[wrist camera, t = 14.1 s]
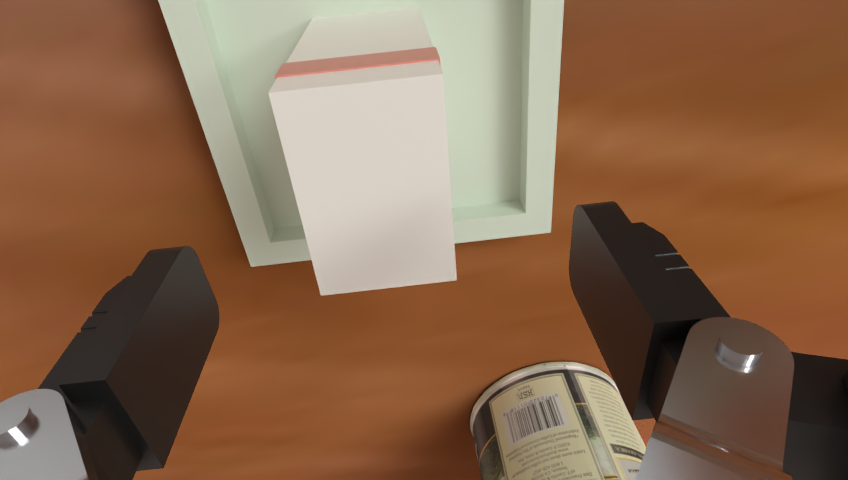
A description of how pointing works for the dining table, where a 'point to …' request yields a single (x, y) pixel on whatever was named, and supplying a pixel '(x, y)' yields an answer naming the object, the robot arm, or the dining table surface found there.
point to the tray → (464, 102)
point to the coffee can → (555, 426)
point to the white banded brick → (368, 150)
